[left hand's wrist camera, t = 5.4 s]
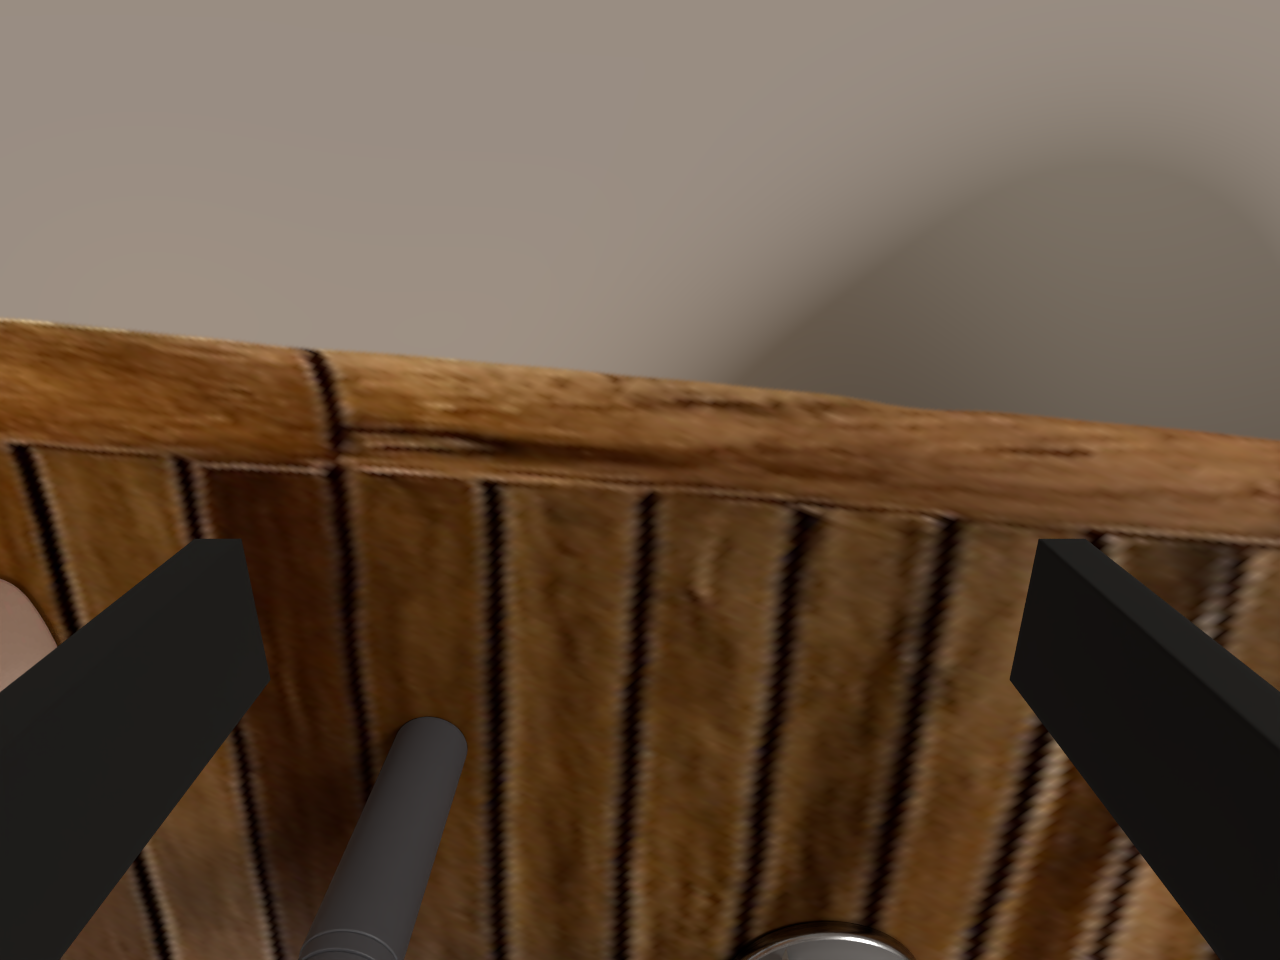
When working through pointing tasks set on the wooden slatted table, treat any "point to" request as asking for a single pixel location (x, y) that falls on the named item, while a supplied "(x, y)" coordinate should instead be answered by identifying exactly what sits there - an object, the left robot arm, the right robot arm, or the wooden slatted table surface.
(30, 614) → the anatomical model
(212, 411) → the wooden slatted table surface
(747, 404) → the wooden slatted table surface
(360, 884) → the bottle
